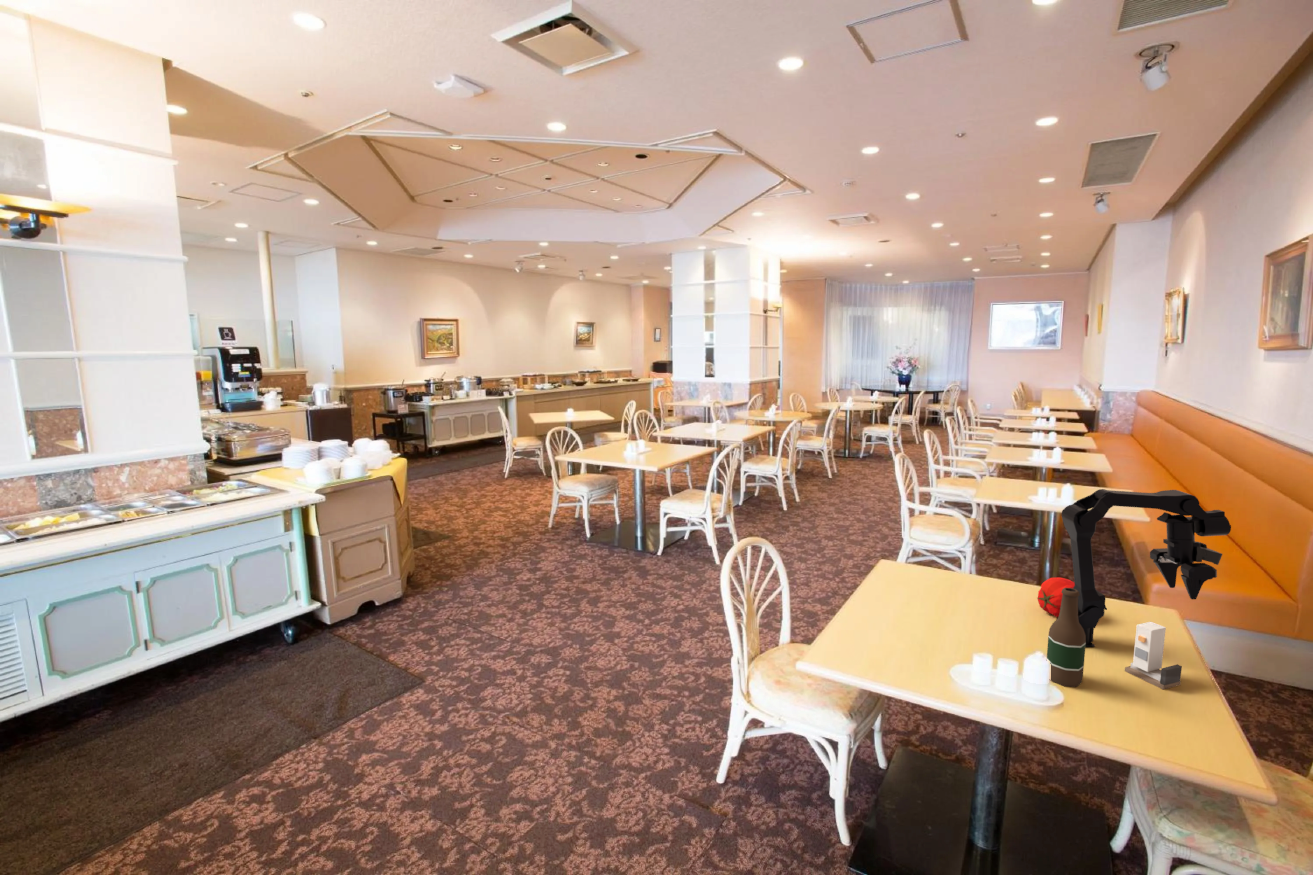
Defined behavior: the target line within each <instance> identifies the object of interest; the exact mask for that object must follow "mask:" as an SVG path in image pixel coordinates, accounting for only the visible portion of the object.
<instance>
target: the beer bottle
mask: <svg viewBox="0 0 1313 875" xmlns="http://www.w3.org/2000/svg"><path fill="white" fill-rule="evenodd" d="M1062 593H1063V595H1062V601H1061V608H1060V613H1059V617H1057V619H1055V620H1054V622H1052V624H1051V626H1050V627H1049V630H1048V636H1047V637H1048V638H1047V648H1046V650H1047V651H1046V660H1047V659H1048V660H1049V661H1050V664H1051V680H1050V682H1051V683H1054V684H1057V685H1060V686H1063V687H1067V688H1077V687H1078V686H1079V685H1081V684H1082V682H1083V678H1084V670H1085V669H1084V667H1085V657H1086V656H1085V654H1086V647H1085V646H1086V635H1085V632H1084V629H1083V628H1082V626H1081V625H1080V623H1079V619H1078V596H1079V595H1080V594H1079V591H1077V590H1076V589H1073V588H1064V589H1062Z"/></svg>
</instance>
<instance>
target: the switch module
mask: <svg viewBox="0 0 1313 875" xmlns="http://www.w3.org/2000/svg"><path fill="white" fill-rule="evenodd" d="M1135 628H1136V629H1135V630H1136V631H1135V637H1134V638H1135V639H1134V649H1133V658H1132V660H1133V661H1132V663H1133V665H1134V666H1136V667H1138V668H1140V669H1142V670H1144V671H1147V672H1149V671H1153V670H1157V669H1160V670H1161V669H1162V668H1163V667H1162V666H1163V656H1164V648H1165V640H1166V639H1165V637H1166V628H1167V627H1166V626H1164V625H1161V624H1158V623H1155V622H1153V621H1147V622H1144V623H1139V624H1136V627H1135Z"/></svg>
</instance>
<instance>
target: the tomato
mask: <svg viewBox="0 0 1313 875" xmlns="http://www.w3.org/2000/svg"><path fill="white" fill-rule="evenodd" d="M1074 585H1075V581H1072V580H1071V579H1068V578H1064V577H1060V576H1059V577H1049V578H1047V579H1046V580H1045V581H1043V582H1042V583H1041V585H1040V589H1039V590H1038V592H1037V602H1038V604H1039V607H1040V608H1041V610H1042V611H1044V612H1046V613H1048V614H1051V615H1052V616H1053V617H1055V618H1058V617H1059V613H1060V608H1061V601H1062V595H1063V593H1062V589H1064V588H1074Z"/></svg>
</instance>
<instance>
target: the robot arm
mask: <svg viewBox="0 0 1313 875" xmlns="http://www.w3.org/2000/svg"><path fill="white" fill-rule="evenodd" d="M1113 507H1122V508H1123V507H1125V508H1126V507H1127V508H1138V509H1139V508H1142V509H1153V510H1154V509H1155V510H1161V511H1165V512H1163V513H1162V514H1161V515H1159V516H1158V517H1157V518H1156V520H1157V521H1159V522H1162V523H1165V524H1166V538H1163V544H1165V545H1166V548H1153V549H1152V550H1150V551H1149V558H1150V559H1151V560H1152V562H1153V563H1154V565H1155V566H1156V567H1157V569H1158V571H1159V572H1160V573H1161V576H1162V577H1163V579H1164V580H1165V582H1166V584H1167V585H1168V587H1169V588H1171V589H1175V588H1176V584H1177V574H1178V573H1177V572H1178V569H1179V567H1180V572H1181V574H1180V577H1181V580H1182V582H1183V584H1184V587H1185V589H1186V592H1187V594H1188V597H1189V598H1190V600H1197V597H1198V595H1199V593H1200V591H1201V589H1202V587H1203V584H1204V583H1205V582H1207V581H1208V580H1213V579H1215V578H1217V577H1218V574H1217V573H1218V572H1217V571H1218V570H1217V569H1216V568H1215V567H1213V566H1212V565H1209V564H1207V563H1205V562H1209V563H1212V564H1213V565H1216V566H1218V565H1219V564H1220V562H1221V559H1222V556H1223V553H1221V552H1219V551H1217V550H1214V549H1211V548H1208V547H1207V543H1203V542H1200V541H1195V540H1196V539H1195V538H1196V537H1195V535H1197V536H1198V537H1215V536H1216V537H1217V536H1220V537H1221V536H1228V535H1229V534H1230V533H1231V531H1232V525H1231V524H1230V521H1229V519H1228V517H1226V515H1225V511H1223V510H1220V509H1213V510H1204V508H1203V507H1202V506H1201V505H1200V501H1199V499H1198V498H1197V497H1196V496H1195V495H1193V494H1190V493H1187V492H1184V491H1181V490H1177V489H1166V490H1159V491H1156V492H1143V491H1142V492H1139V491H1138V492H1137V491H1126V490H1125V491H1123V490H1112V489H1111V490H1110V489H1109V490H1108V489H1103V488H1102V489H1101V488H1100V489H1097V490H1096V491H1094V492H1093V493H1092V494H1090V495H1087V496H1084V497H1082V498H1080V499H1078V500H1076V501H1075V502H1073V503H1072V504H1069V505H1067V506H1065V507H1064V508H1063V509H1062V510H1061V515H1060V517H1061V519H1062V523H1063V525H1064V528H1065V530H1066V531H1067V534H1068V536H1069V539H1070V547H1071V548H1070V549H1071V558H1072V567H1073V568H1072V569H1073V580H1074V581H1073V582H1075V585H1074V588H1073V589H1076V590H1077V591H1079V594H1080V595H1079V596H1078V619H1079V623H1080V625H1081V626H1082V628H1083V629H1084V632H1085V635H1086V646H1085V648H1095V647H1096V644H1094V643H1093V642H1094V630H1095V628H1096V627H1097V625H1098V623H1099V621H1100V619H1101V618H1102V617H1104V616H1105V611H1107V610H1108V608H1107V606H1106V595H1105V594H1103V593H1102V592H1100V591H1099V590H1097V589H1096V582H1095V580H1096V579H1095V572H1094V560H1093V559H1094V558H1093V549H1092V538H1093V537H1094V535H1095V533H1096V529H1097V528H1096V527H1097V523H1098V522H1099V521H1100V520H1102V519H1104V517H1105V516H1106V514H1107V513H1108V512H1109V510H1110V509H1111V508H1113ZM1171 513H1172V514H1171ZM1203 561H1204V562H1203Z"/></svg>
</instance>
